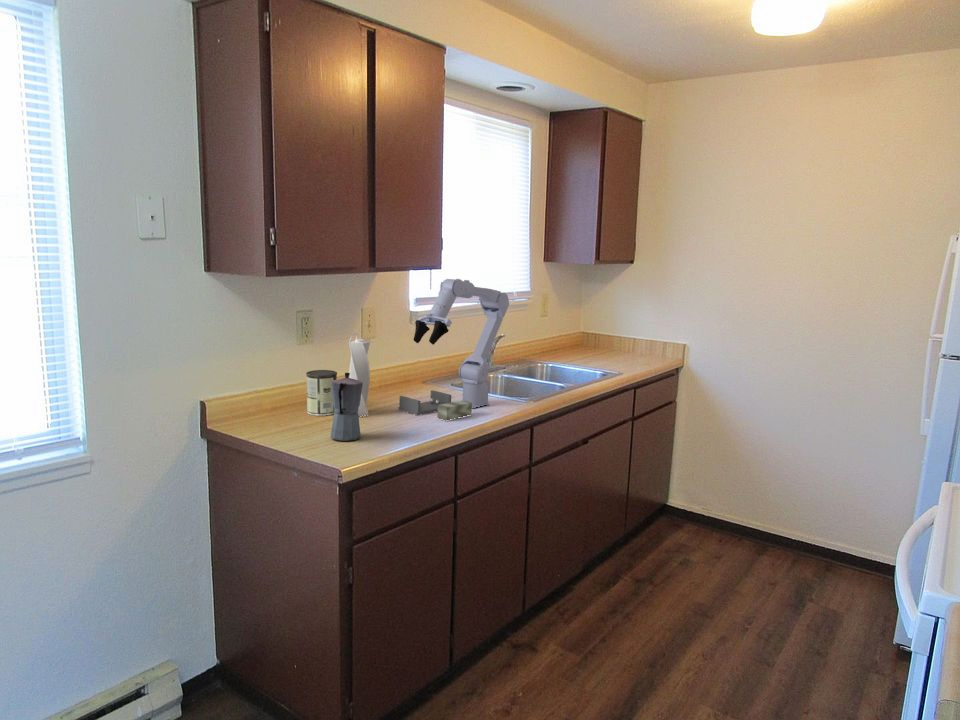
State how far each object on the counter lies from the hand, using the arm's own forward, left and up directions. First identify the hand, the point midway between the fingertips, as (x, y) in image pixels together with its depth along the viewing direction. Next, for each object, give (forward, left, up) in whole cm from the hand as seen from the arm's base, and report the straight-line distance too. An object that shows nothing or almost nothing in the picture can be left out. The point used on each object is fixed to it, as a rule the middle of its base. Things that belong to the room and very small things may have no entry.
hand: (423, 342), depth 222 cm
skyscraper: (+13, -19, -27) cm, 35 cm away
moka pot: (+33, +2, -27) cm, 42 cm away
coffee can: (+21, -29, -27) cm, 44 cm away
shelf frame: (-10, -10, -26) cm, 30 cm away
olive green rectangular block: (-10, +5, -27) cm, 29 cm away
